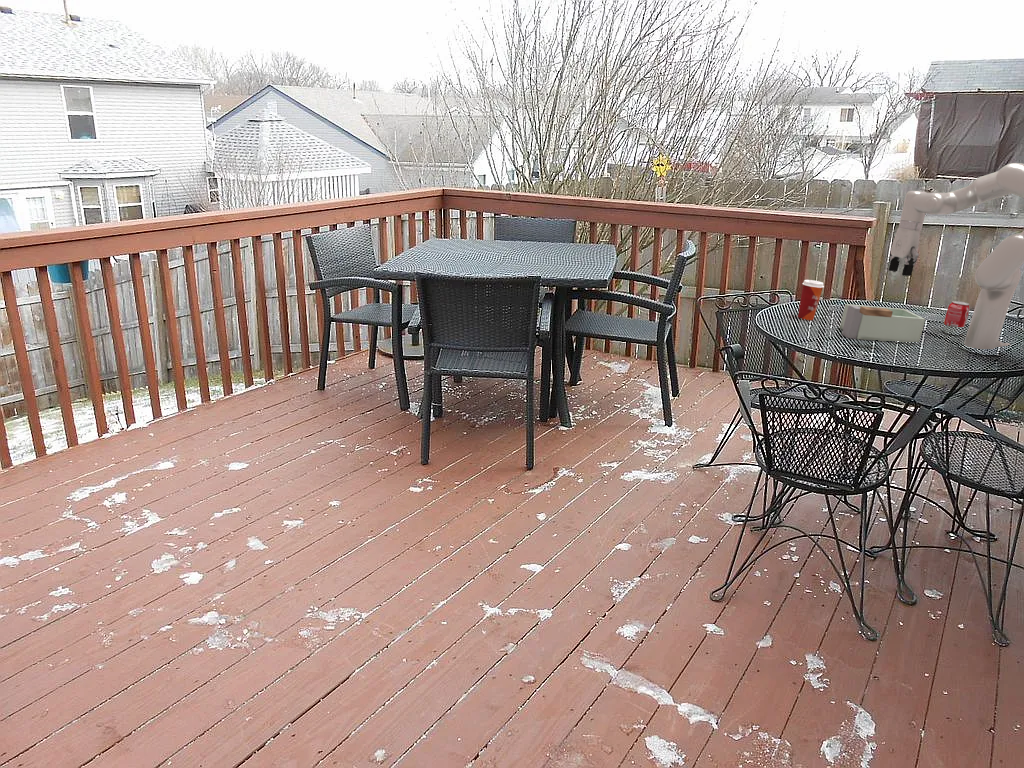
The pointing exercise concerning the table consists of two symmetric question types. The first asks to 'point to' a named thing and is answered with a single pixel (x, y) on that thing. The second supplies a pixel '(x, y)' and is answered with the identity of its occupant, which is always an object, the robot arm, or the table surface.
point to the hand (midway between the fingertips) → (899, 273)
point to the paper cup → (810, 299)
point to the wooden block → (876, 311)
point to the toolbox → (881, 325)
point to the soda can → (957, 314)
